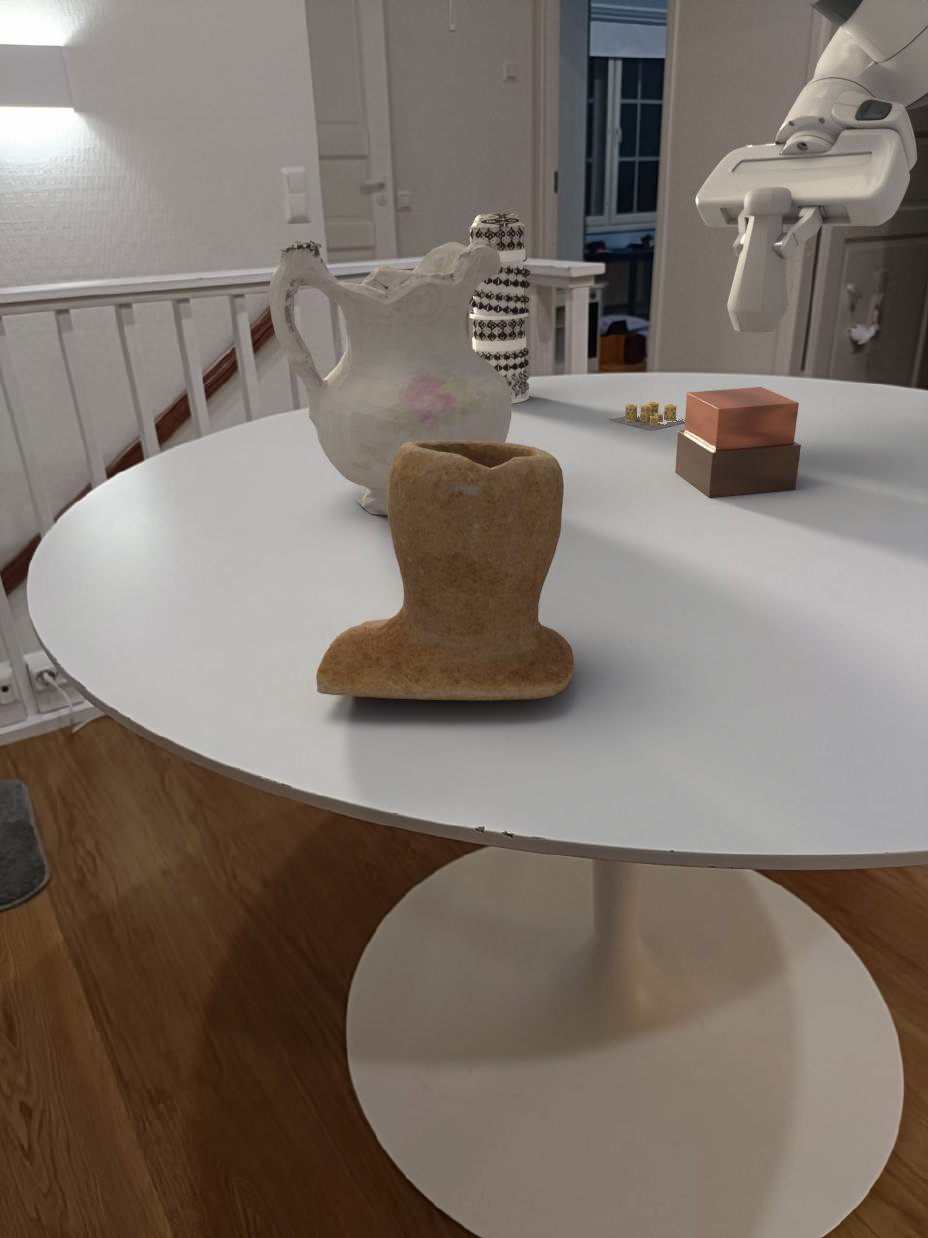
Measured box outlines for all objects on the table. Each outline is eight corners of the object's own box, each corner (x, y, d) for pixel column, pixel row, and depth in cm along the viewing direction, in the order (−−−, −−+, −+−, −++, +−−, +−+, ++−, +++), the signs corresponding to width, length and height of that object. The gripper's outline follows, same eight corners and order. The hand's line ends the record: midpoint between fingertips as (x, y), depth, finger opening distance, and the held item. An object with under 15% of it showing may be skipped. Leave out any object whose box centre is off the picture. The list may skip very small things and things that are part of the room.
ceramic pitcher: (352, 563, 77) (333, 259, 65) (265, 494, 91) (236, 233, 79) (546, 511, 88) (561, 241, 75) (442, 456, 102) (440, 222, 89)
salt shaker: (713, 331, 89) (724, 189, 84) (745, 324, 93) (758, 187, 87) (765, 335, 85) (780, 186, 80) (796, 328, 89) (813, 184, 83)
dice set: (622, 419, 116) (623, 405, 115) (651, 413, 118) (651, 399, 117) (650, 426, 112) (650, 411, 111) (678, 420, 114) (679, 405, 113)
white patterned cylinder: (464, 394, 134) (457, 214, 123) (523, 389, 136) (521, 211, 125) (475, 407, 126) (469, 215, 115) (538, 401, 128) (537, 212, 117)
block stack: (754, 465, 95) (763, 385, 91) (795, 489, 87) (806, 403, 83) (675, 472, 94) (680, 391, 90) (708, 497, 86) (716, 410, 82)
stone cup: (573, 632, 61) (576, 416, 54) (574, 726, 50) (578, 471, 44) (359, 630, 63) (337, 420, 56) (316, 720, 52) (283, 474, 46)
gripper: (722, 122, 92) (660, 230, 90) (922, 102, 78) (852, 229, 76) (742, 169, 96) (683, 273, 95) (935, 158, 82) (868, 279, 81)
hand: (760, 253), depth 86 cm, fingers closed on salt shaker, 3 cm apart
